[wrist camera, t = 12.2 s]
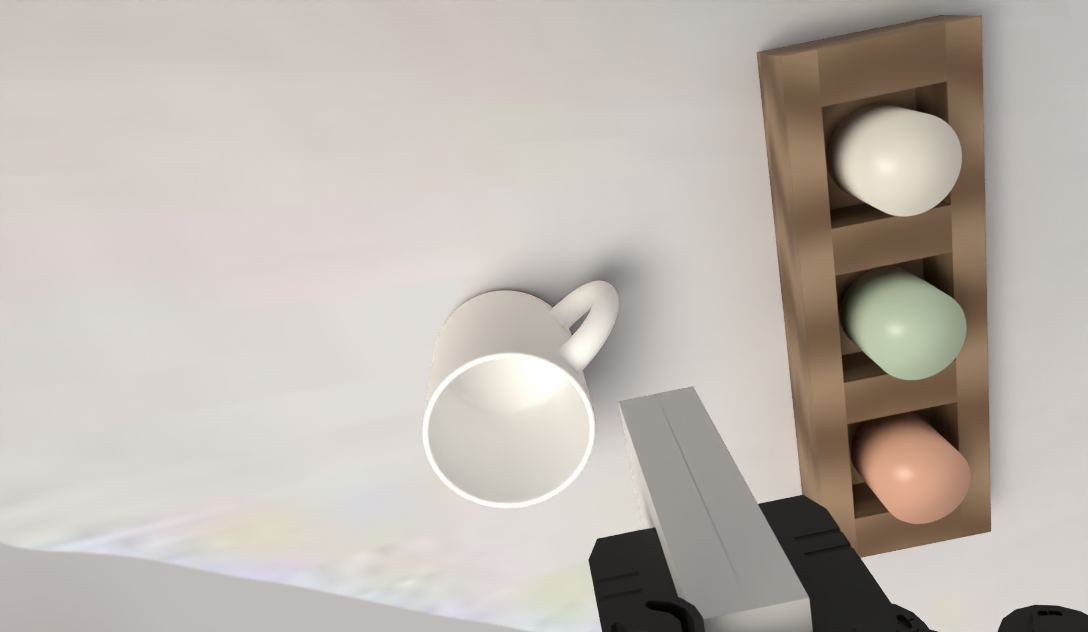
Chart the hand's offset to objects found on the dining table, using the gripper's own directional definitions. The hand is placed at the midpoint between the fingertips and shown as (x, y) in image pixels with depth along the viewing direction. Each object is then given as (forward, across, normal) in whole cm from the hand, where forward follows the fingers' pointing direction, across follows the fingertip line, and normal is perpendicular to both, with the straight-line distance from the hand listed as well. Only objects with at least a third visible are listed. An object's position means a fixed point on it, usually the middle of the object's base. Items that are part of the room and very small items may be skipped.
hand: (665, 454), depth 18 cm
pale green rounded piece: (+30, +17, -11) cm, 36 cm away
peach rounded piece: (+30, +17, -20) cm, 40 cm away
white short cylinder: (+30, +17, -2) cm, 35 cm away
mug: (+33, -3, -9) cm, 34 cm away
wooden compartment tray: (+32, +17, -11) cm, 38 cm away
